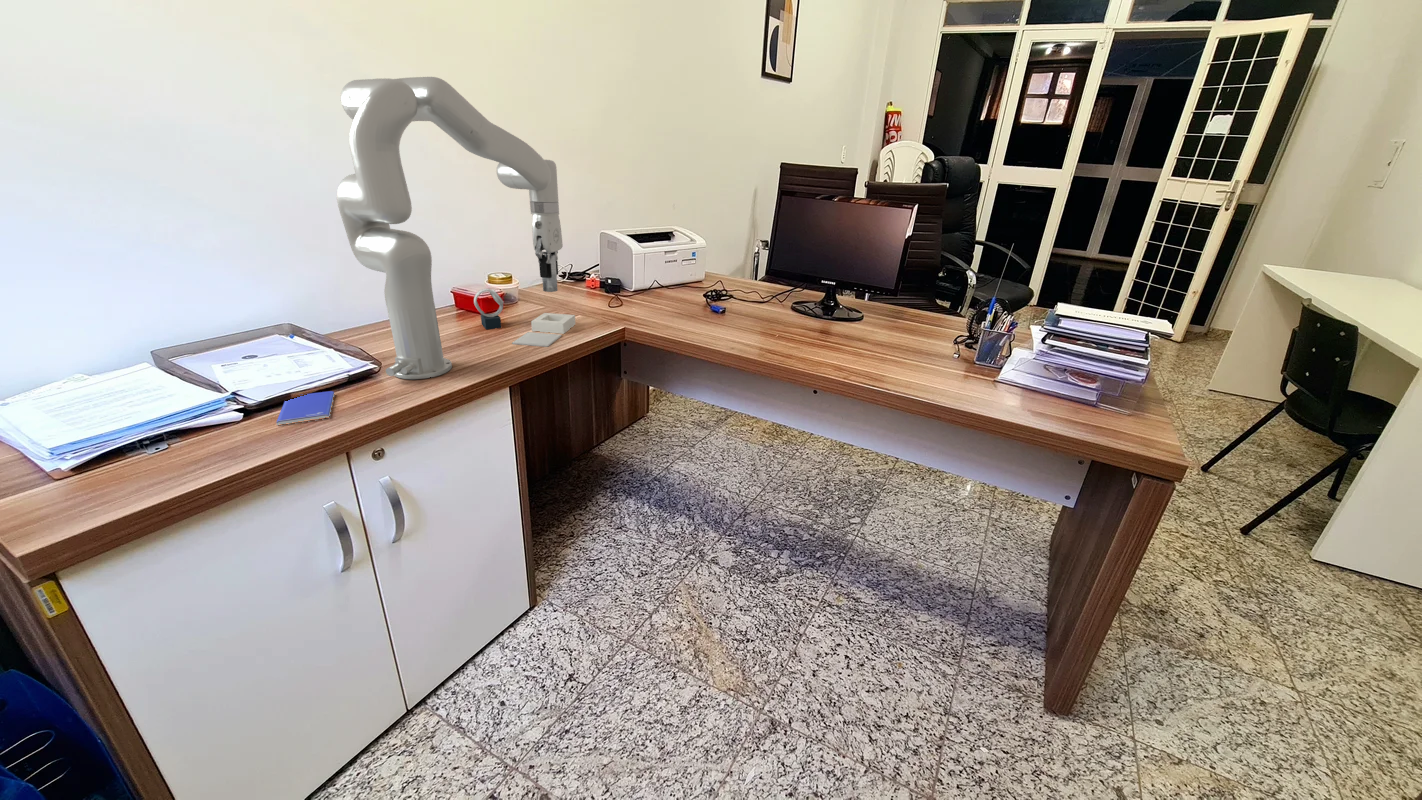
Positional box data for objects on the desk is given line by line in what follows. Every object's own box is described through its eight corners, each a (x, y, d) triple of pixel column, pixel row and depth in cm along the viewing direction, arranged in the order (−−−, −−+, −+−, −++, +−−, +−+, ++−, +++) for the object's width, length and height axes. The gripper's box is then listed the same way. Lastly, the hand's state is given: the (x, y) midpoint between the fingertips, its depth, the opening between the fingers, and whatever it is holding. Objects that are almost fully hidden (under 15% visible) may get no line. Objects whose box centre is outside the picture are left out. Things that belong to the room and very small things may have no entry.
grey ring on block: (508, 327, 164) (504, 290, 159) (479, 330, 159) (474, 292, 155) (503, 322, 168) (499, 286, 163) (475, 325, 164) (470, 288, 159)
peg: (554, 292, 158) (551, 256, 154) (540, 291, 158) (538, 255, 154) (559, 289, 161) (557, 254, 157) (546, 288, 162) (544, 253, 158)
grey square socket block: (563, 333, 160) (563, 323, 158) (532, 331, 161) (531, 321, 159) (575, 324, 168) (574, 315, 167) (545, 322, 169) (544, 312, 168)
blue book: (328, 413, 105) (333, 390, 115) (275, 421, 102) (285, 396, 112) (330, 421, 106) (335, 397, 116) (277, 428, 102) (287, 403, 112)
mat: (547, 346, 148) (547, 345, 148) (512, 344, 150) (512, 342, 149) (561, 336, 158) (561, 334, 157) (528, 333, 159) (528, 332, 158)
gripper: (545, 211, 143) (550, 282, 150) (569, 207, 158) (572, 271, 165) (517, 209, 143) (524, 280, 151) (543, 205, 159) (548, 270, 166)
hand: (549, 275), depth 158 cm, fingers closed on peg, 4 cm apart
